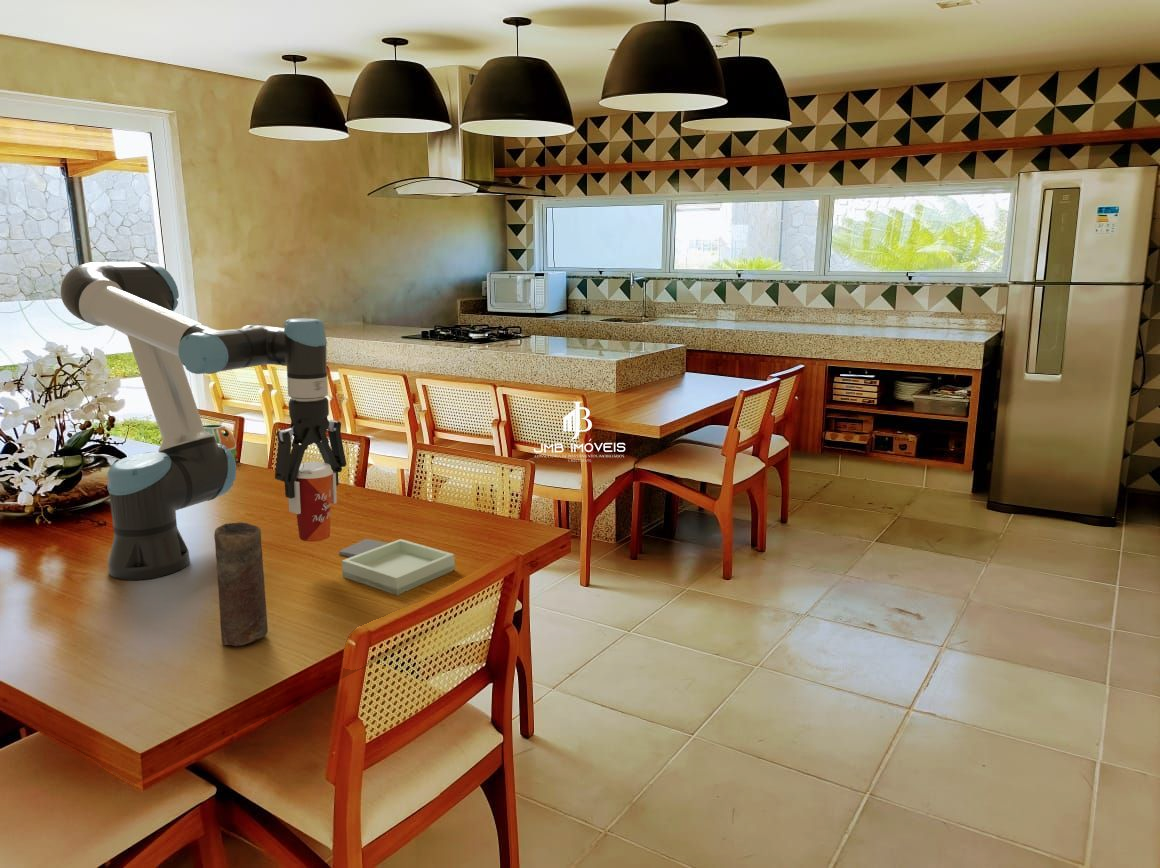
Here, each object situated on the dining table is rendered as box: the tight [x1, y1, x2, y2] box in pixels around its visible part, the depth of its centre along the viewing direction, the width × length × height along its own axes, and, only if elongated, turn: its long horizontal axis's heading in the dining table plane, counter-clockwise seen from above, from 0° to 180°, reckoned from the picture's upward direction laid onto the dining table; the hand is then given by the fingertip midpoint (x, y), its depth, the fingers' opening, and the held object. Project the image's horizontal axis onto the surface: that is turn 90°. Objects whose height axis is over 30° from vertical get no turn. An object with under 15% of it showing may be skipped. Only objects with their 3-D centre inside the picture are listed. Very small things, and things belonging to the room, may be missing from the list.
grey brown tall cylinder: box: [213, 521, 269, 647], centre depth 139 cm, size 8×7×20 cm
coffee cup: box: [295, 461, 333, 543], centre depth 168 cm, size 8×8×15 cm
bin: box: [341, 538, 456, 596], centre depth 170 cm, size 16×16×4 cm
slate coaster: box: [338, 538, 389, 558], centre depth 183 cm, size 9×9×1 cm
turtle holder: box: [203, 423, 239, 463], centre depth 258 cm, size 12×18×12 cm
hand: (313, 507), depth 169 cm, fingers closed on coffee cup, 8 cm apart
